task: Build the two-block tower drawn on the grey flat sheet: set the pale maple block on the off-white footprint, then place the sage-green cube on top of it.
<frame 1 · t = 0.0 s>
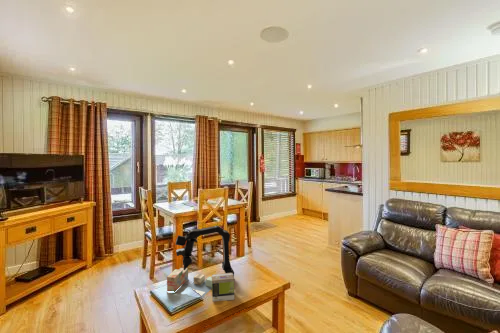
hand: (183, 267, 182), 15 cm above the table, tool pointing down, fingers open, 9 cm apart
printed cardboard box: (178, 286, 185), on the table
maple block: (199, 282, 190), resting on grey flat sheet
grey flat sheet: (199, 288, 181), on the table
sage cube: (210, 285, 186), resting on grey flat sheet
tea box: (222, 297, 171), on the table
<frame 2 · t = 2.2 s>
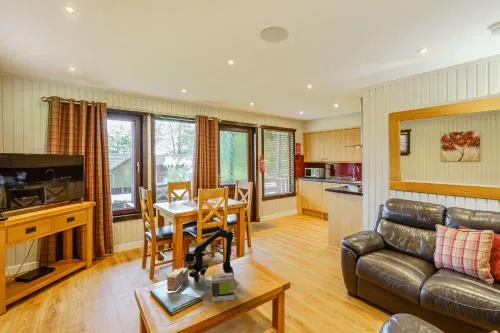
hand: (199, 281, 190), 2 cm above the table, tool pointing down, fingers closed on maple block, 6 cm apart
maple block: (199, 282, 190), resting on grey flat sheet, touching gripper
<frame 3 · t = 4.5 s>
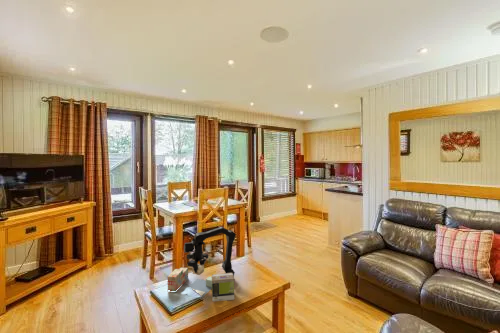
hand: (198, 271, 183), 12 cm above the table, tool pointing down, fingers closed on maple block, 6 cm apart
maple block: (198, 272, 183), point 11 cm above the table, touching gripper
when the fingers open (3 cm above the table, at t = 7.2 s): maple block drops 1 cm, resting on grey flat sheet.
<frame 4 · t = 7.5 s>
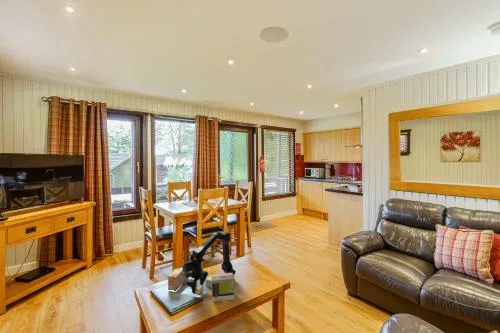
hand: (197, 290, 174), 3 cm above the table, tool pointing down, fingers open, 9 cm apart
maple block: (197, 293, 174), point 1 cm above the table, touching grey flat sheet
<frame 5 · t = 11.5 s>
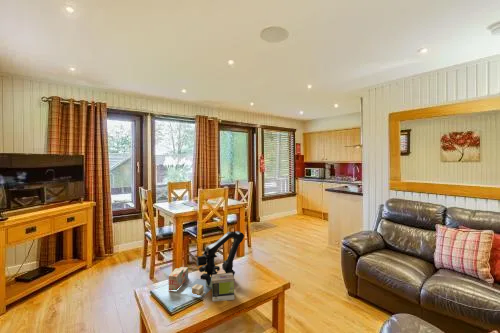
hand: (210, 283, 186), 2 cm above the table, tool pointing down, fingers closed on sage cube, 5 cm apart
sage cube: (210, 285, 186), resting on grey flat sheet, touching gripper
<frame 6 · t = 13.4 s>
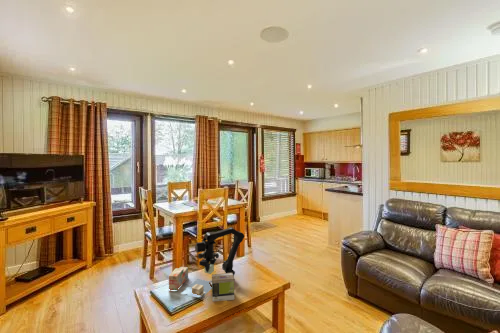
hand: (209, 270, 184), 12 cm above the table, tool pointing down, fingers closed on sage cube, 5 cm apart
sage cube: (209, 271, 185), point 11 cm above the table, touching gripper
when the fingers open (8 cm above the table, at t = 15.4 s): sage cube drops 2 cm, resting on maple block.
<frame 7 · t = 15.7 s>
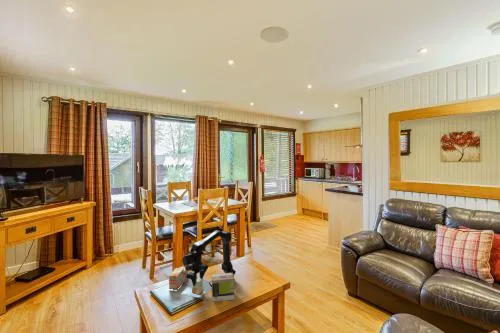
hand: (197, 283, 173), 8 cm above the table, tool pointing down, fingers open, 8 cm apart
maple block: (197, 293, 174), point 1 cm above the table, touching grey flat sheet, sage cube
sage cube: (197, 286, 174), point 6 cm above the table, touching maple block
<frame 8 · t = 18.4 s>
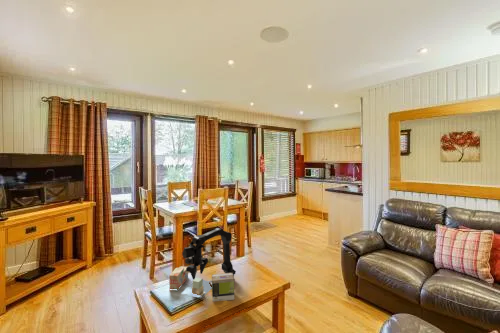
hand: (197, 276, 173), 13 cm above the table, tool pointing down, fingers open, 9 cm apart
at the end: maple block 0.1 cm from the target spot on the grey flat sheet, point 0.6 cm above the grey flat sheet's base; sage cube 0.0 cm off-centre on the maple block, point 5.0 cm above the maple block's base; sage cube tilted 0° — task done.
